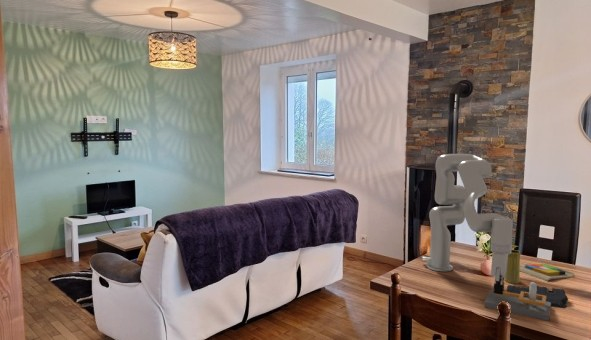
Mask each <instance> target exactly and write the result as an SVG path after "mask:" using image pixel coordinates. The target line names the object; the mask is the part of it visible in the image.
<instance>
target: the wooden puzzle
mask: <svg viewBox="0 0 591 340" xmlns="http://www.w3.org/2000/svg"><path fill="white" fill-rule="evenodd" d="M520 272H521V273H523V274H526V275H529V276H530V277H534V278H537V279H539V280H542V281H545V282H549V281H550V280H559V279H567V278H568V279H569V278H573V277H574V276H575V273H574V272H572V271H569V270H566V269H563V268H560V267H557V266H554V265H550V264H547V263H544V262H542V263H536V264H530V263H529V264H525V265H520Z"/></svg>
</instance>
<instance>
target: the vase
mask: <svg viewBox="0 0 591 340" xmlns="http://www.w3.org/2000/svg"><path fill="white" fill-rule="evenodd" d="M520 261H521V251H520V250H516V249H511V254H508V263H507V272H506V275H505V277H504V282H507V283H509V284H519V283H520V282H521V281H520V280H521V279H520V275H521V273H520V266H521V264H520V263H521V262H520Z"/></svg>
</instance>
